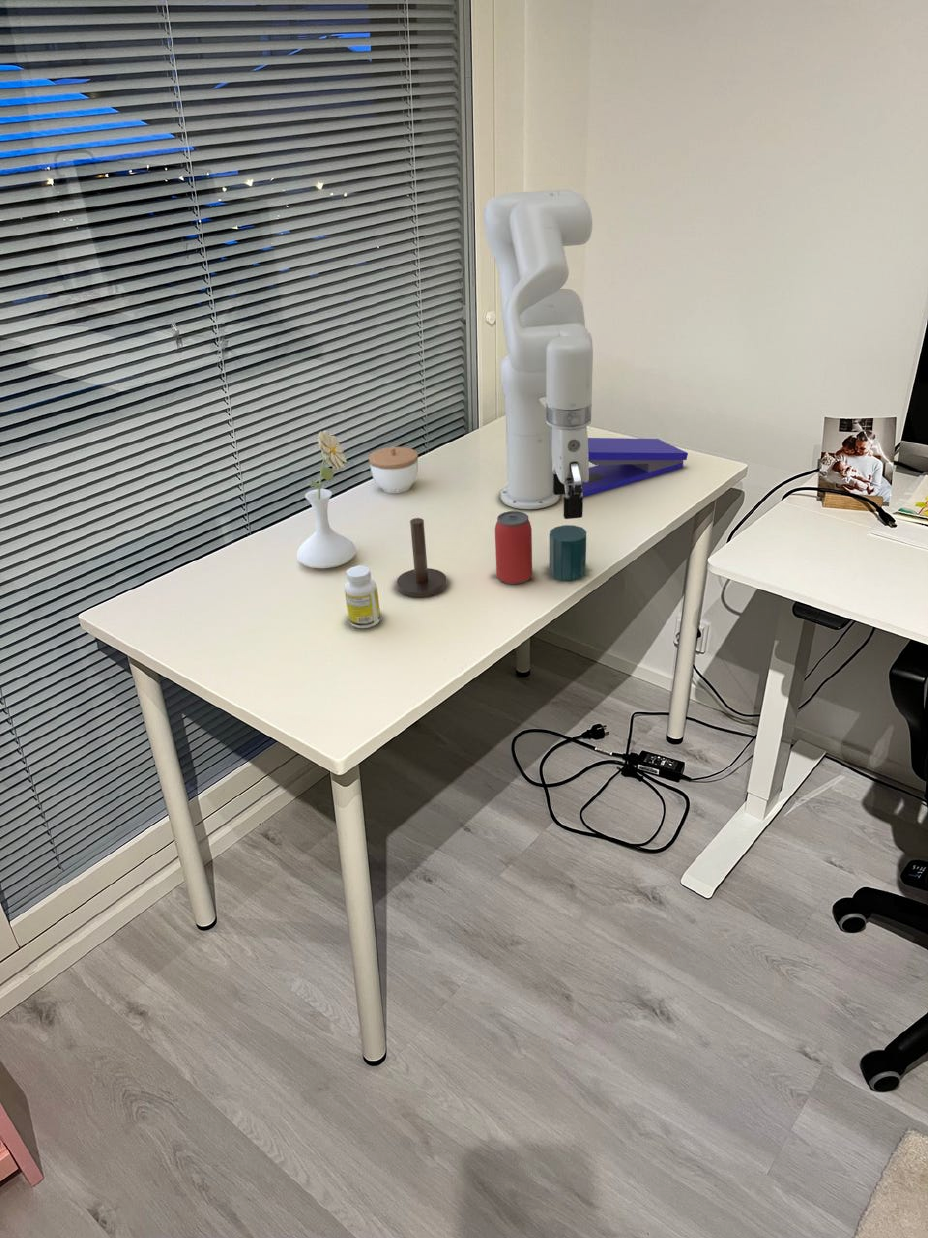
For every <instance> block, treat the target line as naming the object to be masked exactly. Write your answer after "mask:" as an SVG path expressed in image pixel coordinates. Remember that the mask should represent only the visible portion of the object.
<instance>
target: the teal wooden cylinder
mask: <svg viewBox="0 0 928 1238" xmlns="http://www.w3.org/2000/svg"><path fill="white" fill-rule="evenodd" d="M586 570H587V531H586V530H585V529H584V527H581V526H578V525H575V524H574V525H573V524H572V525H571V524H565V525H560V526H556V527H553V528H552V529H550V531H549V575H550V576H551V577H552V578H554V579H556V580H559V581H563V582H564V581H565V582H572V581H578V580H580V579H582V578H583V577H585V576H586Z"/></svg>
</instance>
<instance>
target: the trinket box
mask: <svg viewBox="0 0 928 1238" xmlns="http://www.w3.org/2000/svg"><path fill="white" fill-rule="evenodd" d="M418 459H419V454H418V452H417V450H415V449H414V448H411V447H407V446H388V447H387V446H386V447H383V448H379V449H377V450H374V451H373V452H371V453H370V454H369V456H368V462H369V468H370V473H371V477H372V479H373V481H374V483H375V484H376V485H377V486H378V487H379V488H380V489H382V491H383V492H384V493H387V494H391V495H393V494H395V495H396V494H402V493H406V492H407V491H409V490H410V488H411V486H412V485H413V484H414V483H415V481H416V479H417V477H418V471H419V460H418ZM388 490H389V491H388ZM397 490H398V491H397Z"/></svg>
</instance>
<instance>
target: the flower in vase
mask: <svg viewBox="0 0 928 1238" xmlns="http://www.w3.org/2000/svg"><path fill="white" fill-rule="evenodd" d="M317 437H318V440H317V442H318V445H319V446H318V448H319V450H320V451H321V454H322V456H323V458H322V462H321V466H320V471H319V472H320V473H319V479H318V480H319V481H318V482H315V481H311V483H310V485H309V487H318V488H317V489H311V490H309V491H308V492H306V493H305V494H304V497H305V500H307V501H308V502H309V503H310V505H311V507H312V510H313V512H314V516H315V523H316V529H315V531H314V533H312V535H310V536H309V537H308V538H307V539H306V540H304V541H303V542H302V543H301V545H300V546H299V547H298V549H297V551H296V559H297V560H298V561H299V562H300V563H301V565H304V566H306V567H309V568H313V569H329V568H335V567H339V566H342V565H344V564H346V563H348V562H349V561H351V560H352V559H353V558H354V556H355V554H356V552H357V547H356V545H355V544H354V542H353V541H352V540H351V539H349V537H346V536H345V535H343V534H341V533H339V532H337V531H335V530H333V529H332V527H331V525H330V524H329V517H328V507H329V502H330V499H331V497H332V495H333V492H332V491H331V490H330V489H326V488H321V487H322V485H323V484H324V482H322V478H323V479H324V480H326V481H328V482H330V481H331V480H333V478H334V475H335V474H334V471H333V470H335V471H336V470H338V471H340V470H343V469H346V466H345V465H344V463H347V462H348V461H347V458H346V455H345V453H344V451H345V449H344V447H343V446H341V444H340V442H339V441H338V440H337V437H336V436H335V435H331V434H330V432H329V431H328V430H326V429H325V430H323V431H319V434H318V436H317ZM325 462H326V463H327V464H328V465H329V466H330V467H332V468H333V469H332V468H330V467H327V466H324V464H325Z"/></svg>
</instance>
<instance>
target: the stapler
mask: <svg viewBox="0 0 928 1238" xmlns="http://www.w3.org/2000/svg"><path fill="white" fill-rule="evenodd" d="M688 456H689V452H687V451H685V450H683V449H681V448H679V447H677V446H674V445H672V444H670V443H667V442H665V441H663V440H661V439H660V438H621V437H619V438H617V437H588V461H589V463H591V464H592V465H593V466H590V467H589V480H588V482H586V483H585V482H582V493H583V498H587V497H589V496H592V495H596V494H599V493H602V492H606V491H609V490H613V489H616V488H618V487H619V488H620V487H622V486H626V485H630V484H632V483H637V482H640V481H644V480H647V479H650V478H653V477H657V476H660V475H663V474H667V473H670V472H674V471H677V470H680V469H683V468H684V461H687V459H688ZM571 480H572V478H571ZM581 481H582V480H581ZM571 488H573V486H572V485H571Z"/></svg>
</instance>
